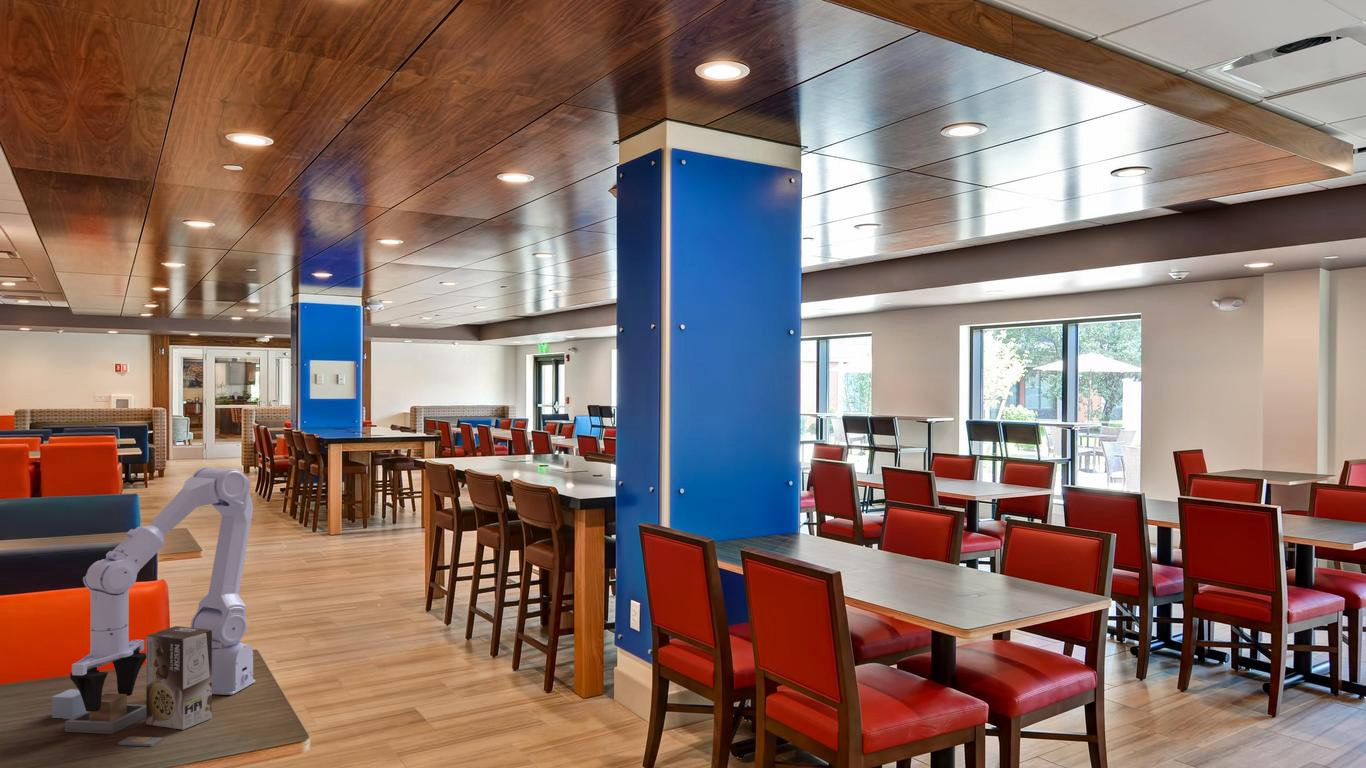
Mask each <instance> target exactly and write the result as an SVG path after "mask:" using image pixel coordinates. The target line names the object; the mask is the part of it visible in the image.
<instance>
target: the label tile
mask: <svg viewBox="0 0 1366 768" xmlns="http://www.w3.org/2000/svg"><path fill="white" fill-rule="evenodd" d="M163 740H164V739H163V737H152V736H131V735H130V736H128V737H126V738H124V739H122V740H120V741H119V742H117V743H118V746H137V747H154V746H155V745H157V744H158V743H160V742H162V741H163Z"/></svg>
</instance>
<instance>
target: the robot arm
mask: <svg viewBox="0 0 1366 768" xmlns="http://www.w3.org/2000/svg"><path fill="white" fill-rule="evenodd" d="M251 483H252V481H251V480H250V479H249V478H248V477H247V476H246V474H245V473H243V471H241V470H239V469H236V468H229V469H228V468H227V469H225V468H215V467H214V468H213V467H209V466H207V467H205V466H204V467H202V468H199V469H197V470H196V471H195V472H194V473H193V475H192V476H190V477H189V478H187V479H186V480H185V481H184V485H183V486H182V489H180V491H179V492H177V494H176V495H175V496H174V497H173V498H172V500H170V501H169V503H168V504H167V505H166V506H165V507H164V508H162V510H161V511H160V512H159V513H158V514H157V515H156V517H155V518H153V520H152V521H151V522H150V523H149V524H148V525H141V526H140V525H139V526H137V527H136V528H134V529H133V528H131V529H129V530H128V532H127V533H125V534H126V537H125V539H123V540H122V541H121V542H120V543H118V545H117V546H116V547H114V549H113V550H109V551H108V552H107V553H106V554H105V558H103V559H101V560H97V561H95V562H94V563H92V564H91V565H90V566H89V568H88V569H87V571H86V574H85V576H83V577H82V582H83V584H84V586H85V587H86V588H87V590H89V592H90V595H89V596H90V637H89V638H90V642H89V644H90V649H89V650H90V651H89V653H88V654H86V656H84V657H82V658H81V659H80V660H78V661H76V662H74V663H72V664H71V672H70V673H69V679H70V680H71V681H72V682H73V685H75V687H76V688H77V690H79V692H80V694H81V697H82V699H83V702H84V706H85V709H86V711H92V712H96V711H99V710H100V706H101V697H102V695H103V687H104V684H105V681H106V679H107V675H108V673H109V672H108V671H100V669H98V668H100V667H103V666H105V665H108V664H110V663H112V664H113V667H114V669H115V675H116V683H117V684H116V686H117V694H127V697H130V696H132V695H133V691H134V688H135V683H136V681H137V678H138V675H139V673H140V670H141V667H142V666H143V664H144V663H145V662H146V652H143V651H144V650H145V640H144V639H132V640H130V639H129V638H130V635H129V634H130V632H129V631H130V630H129V629H130V627H129V624H130V623H129V622H130V621H129V619H130V615H129V613H130V612H129V611H130V610H129V609H130V605H129V602H130V599H129V597H130V595H129V591H130V588H132V587H134V586H135V583H136V581H137V578H138V573H139V572H140V570H141V569H142V568H144V566H145V565H146V564H147V563H148V562H149V561H150V560H151V559H152V558H153V557H154V556H155V555H156V554H157V553H158V552H159V551H160V550H161V549H162V548H163V547H164V546H165V536H167V534H168V533H170V532H171V531H172V530H174V528H175V527H176V526H177V525H179V524H180V523H181V522H182V521H183V520H184V519H185V518H186V517H188V516H189V515H190V514H191V513H192V512H193V511H194V510H196V509H197V508H199V507H203V506H208V505H212V507H214V509H215V510H216V511H217V512H218V513H219V514H220V515H221V518H220V519H221V520H220V526H219V531H218V536H217V542H216V550H215V553H214V554H215V555H214V560H213V566H212V572H211V578H210V583H209V588H208V593H207V594H206V595H205V596H204V597H203V598H202V599H201V600H200V601H199V602H198V608H197V610H196V611H195V614H194V615H193V617H192V619H191V622H190V628H199V629H208V630H212V695H224V696H228V695H229V696H232V695H235V694H237V693H238V692H240V691H242V690H243V689H245V688H247V687H249V686H251V685H252V684H254V683H256V679H254V650H253V647H252V646H251V645H249V644H246V643H242V642H241V640H242V639H243V637H244V636H245V634H246V632H247V629H248V620H247V617H246V609H247V606H246V604H245V603H244V601H243V600H242V598H241V597H240V595H239V594H240V589H241V583H242V578H243V572H244V566H245V559H246V555H247V548H248V544H249V543H248V541H249V537H250V529H251V526H252V525H251V524H252V519H253V512H254V506H253V505H254V504H253V501H252V497H251V493H250V490H251Z"/></svg>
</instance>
